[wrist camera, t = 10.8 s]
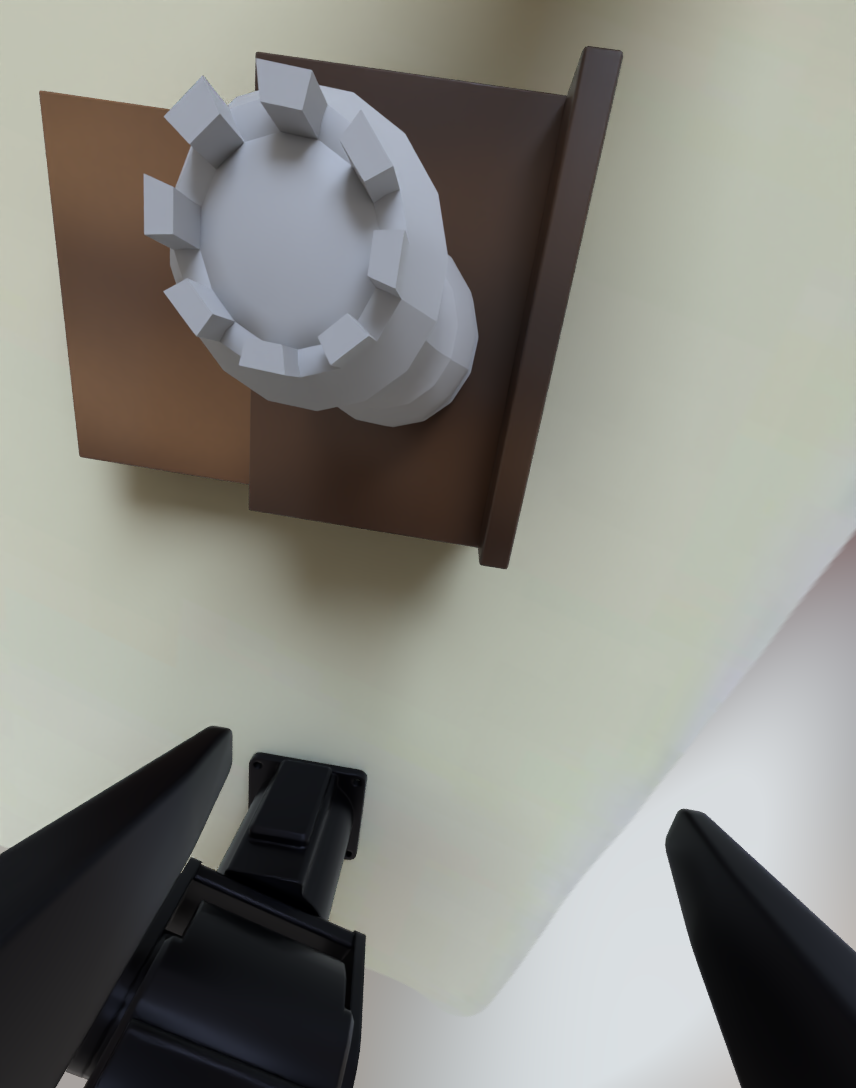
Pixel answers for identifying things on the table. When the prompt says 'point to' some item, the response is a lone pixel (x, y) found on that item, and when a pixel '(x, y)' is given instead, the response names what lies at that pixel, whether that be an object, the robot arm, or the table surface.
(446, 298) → the rook chess piece
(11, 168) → the table surface
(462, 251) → the brown wooden stepped block
